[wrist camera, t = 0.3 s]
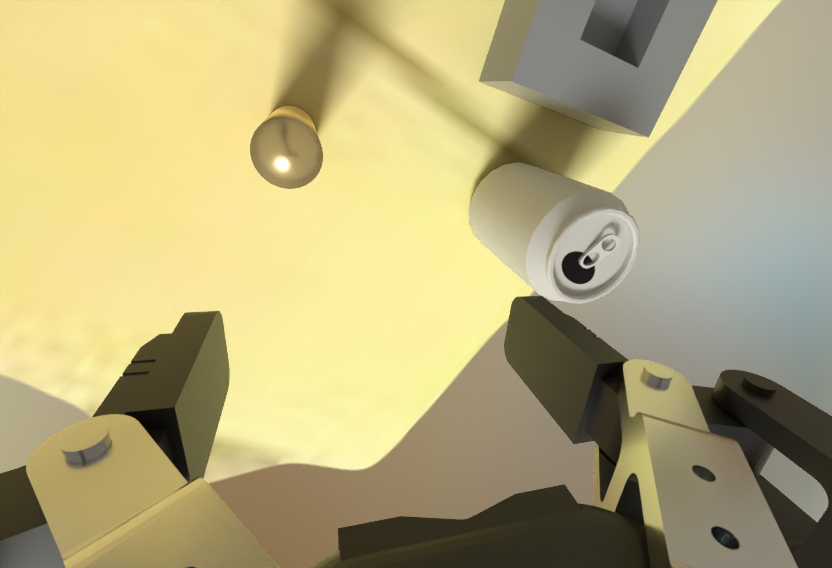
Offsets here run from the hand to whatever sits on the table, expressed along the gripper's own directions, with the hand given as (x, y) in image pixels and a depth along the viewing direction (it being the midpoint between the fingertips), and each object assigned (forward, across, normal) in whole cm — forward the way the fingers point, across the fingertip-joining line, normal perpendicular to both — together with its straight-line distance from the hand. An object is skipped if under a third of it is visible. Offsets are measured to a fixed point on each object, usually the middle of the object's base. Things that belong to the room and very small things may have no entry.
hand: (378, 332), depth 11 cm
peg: (+20, +3, -4) cm, 21 cm away
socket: (+20, -18, -13) cm, 30 cm away
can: (+21, -14, +1) cm, 26 cm away
